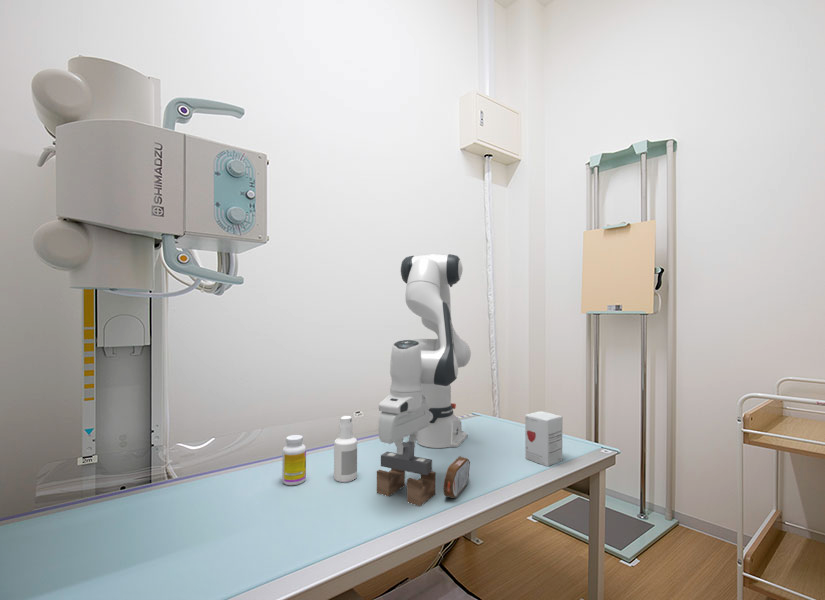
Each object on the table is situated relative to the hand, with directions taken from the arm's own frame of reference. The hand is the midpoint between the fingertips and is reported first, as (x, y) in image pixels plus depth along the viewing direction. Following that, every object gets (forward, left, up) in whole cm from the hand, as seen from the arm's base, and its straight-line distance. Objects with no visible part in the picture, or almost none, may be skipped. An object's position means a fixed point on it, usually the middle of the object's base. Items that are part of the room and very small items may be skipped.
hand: (405, 450), depth 112 cm
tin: (-9, +11, -12) cm, 19 cm away
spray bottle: (+1, -21, -12) cm, 24 cm away
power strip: (0, 0, -5) cm, 5 cm away
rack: (0, 0, -12) cm, 12 cm away
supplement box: (-46, +25, -12) cm, 54 cm away
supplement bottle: (+11, -32, -12) cm, 36 cm away
